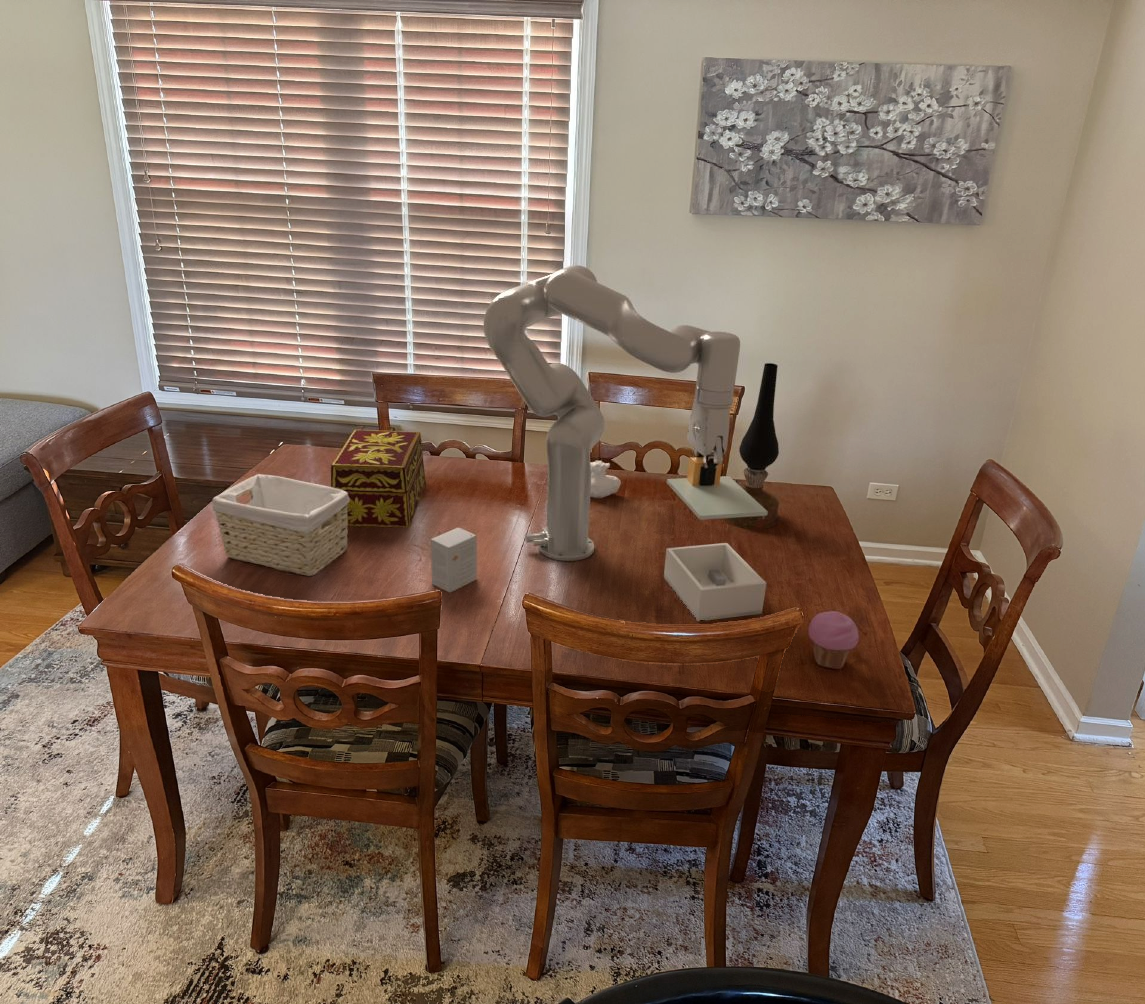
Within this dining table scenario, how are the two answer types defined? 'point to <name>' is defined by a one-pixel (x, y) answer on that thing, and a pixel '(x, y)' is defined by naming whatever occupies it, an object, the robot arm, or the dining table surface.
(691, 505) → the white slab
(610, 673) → the dining table surface
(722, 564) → the tub
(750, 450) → the oil lamp
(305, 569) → the storage basket
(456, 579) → the small box
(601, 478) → the duck figurine
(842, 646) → the cupcake
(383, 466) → the decorative box
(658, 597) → the dining table surface
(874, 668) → the dining table surface
